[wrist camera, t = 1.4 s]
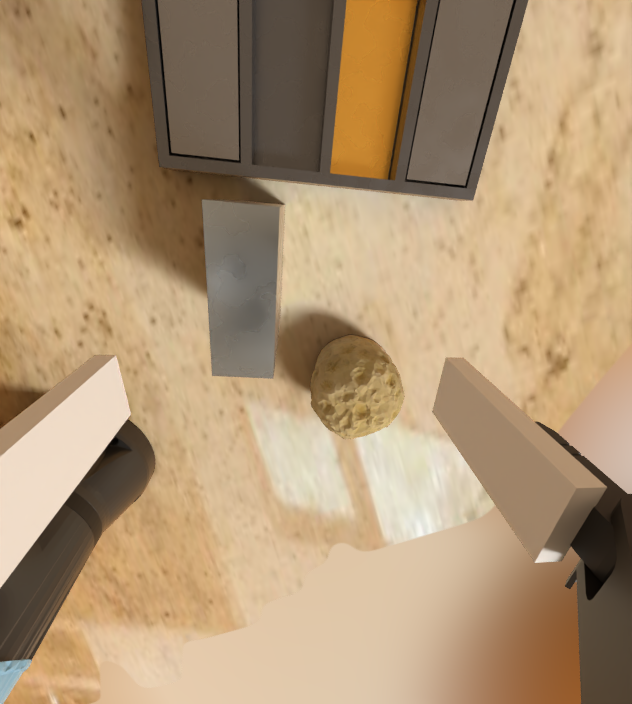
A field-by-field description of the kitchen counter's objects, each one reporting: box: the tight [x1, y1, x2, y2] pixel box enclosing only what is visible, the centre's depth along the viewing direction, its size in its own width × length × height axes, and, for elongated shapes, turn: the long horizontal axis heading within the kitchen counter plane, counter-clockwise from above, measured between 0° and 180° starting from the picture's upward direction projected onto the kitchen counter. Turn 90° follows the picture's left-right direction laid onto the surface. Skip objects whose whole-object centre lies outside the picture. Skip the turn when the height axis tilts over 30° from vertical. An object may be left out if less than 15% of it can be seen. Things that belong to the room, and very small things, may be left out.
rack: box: [142, 0, 528, 200], centre depth 22 cm, size 25×14×3 cm, turn 85°
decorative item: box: [310, 335, 405, 439], centre depth 32 cm, size 10×10×10 cm
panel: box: [202, 199, 285, 378], centre depth 24 cm, size 4×10×12 cm, turn 175°
